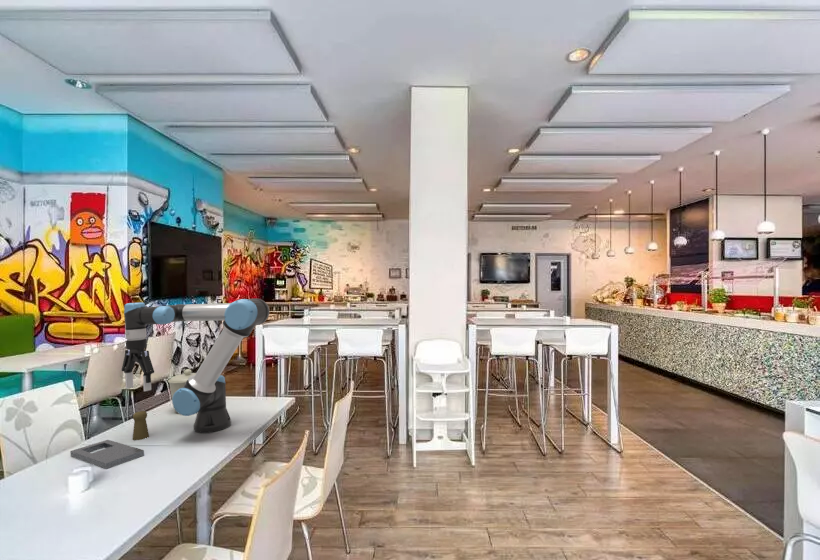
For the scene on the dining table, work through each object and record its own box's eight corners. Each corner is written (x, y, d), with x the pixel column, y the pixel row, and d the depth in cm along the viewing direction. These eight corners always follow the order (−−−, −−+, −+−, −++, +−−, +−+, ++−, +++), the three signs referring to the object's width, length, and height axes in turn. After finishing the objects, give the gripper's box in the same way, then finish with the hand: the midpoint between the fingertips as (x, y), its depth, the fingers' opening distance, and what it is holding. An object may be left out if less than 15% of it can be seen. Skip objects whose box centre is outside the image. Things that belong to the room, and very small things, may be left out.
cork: (141, 440, 181) (140, 414, 181) (128, 440, 182) (127, 413, 182) (152, 435, 187) (151, 409, 187) (140, 434, 188) (139, 409, 188)
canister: (189, 416, 212) (188, 373, 212) (160, 414, 217) (158, 372, 217) (216, 406, 229) (214, 366, 230) (188, 404, 235) (187, 365, 235)
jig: (144, 455, 164) (143, 450, 164) (106, 469, 153) (105, 463, 153) (108, 444, 178) (107, 439, 178) (70, 456, 166) (70, 451, 166)
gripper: (110, 339, 187) (113, 388, 187) (143, 341, 175) (146, 394, 175) (129, 337, 194) (131, 384, 194) (162, 338, 181) (164, 389, 181)
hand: (138, 389), depth 184 cm, fingers open, 13 cm apart
